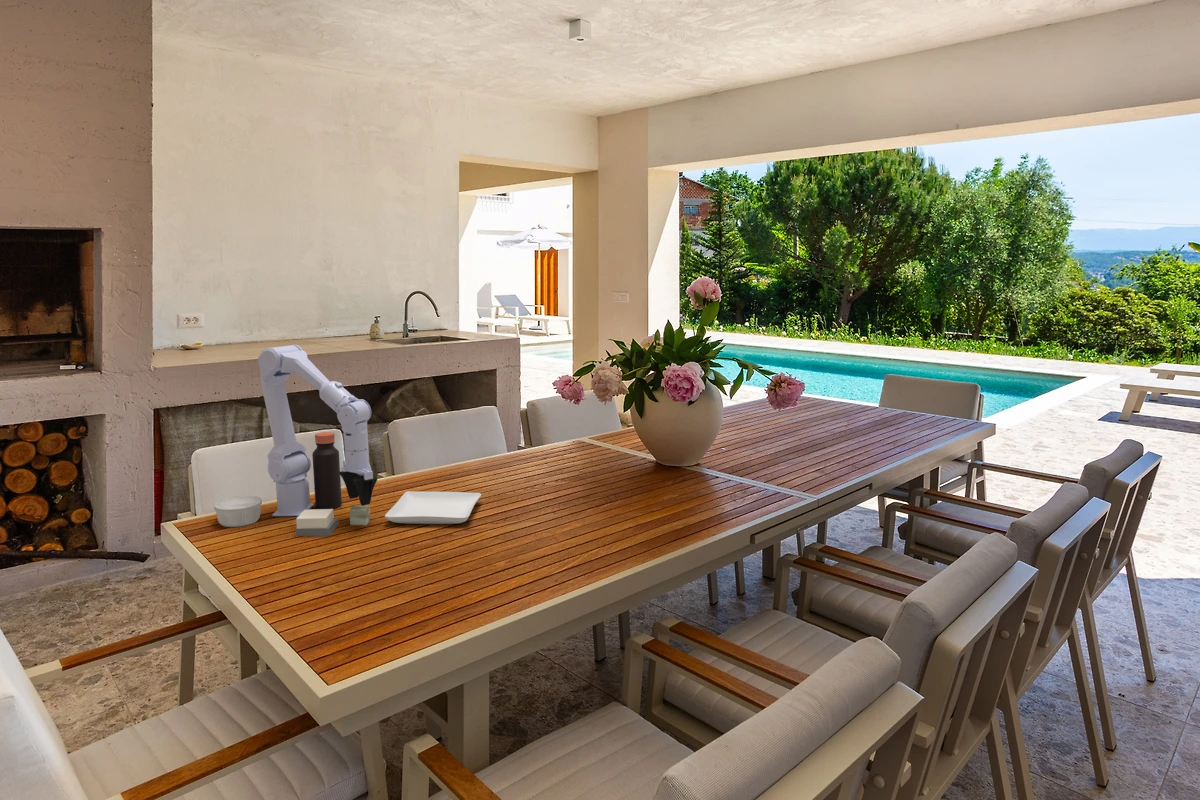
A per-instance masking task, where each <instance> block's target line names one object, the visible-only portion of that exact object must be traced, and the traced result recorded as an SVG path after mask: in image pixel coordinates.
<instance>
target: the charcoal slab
mask: <svg viewBox="0 0 1200 800" xmlns="http://www.w3.org/2000/svg"><path fill="white" fill-rule="evenodd" d="M338 526H339V518H338V517H334V519H333V520H332V522H331V523H330V524H329V526H328V527H327V528H304V529H297V527H295V528H294V531H295V532H294V533H295V534H294V535H295V536H311V537H330V536H331V535H332V534H333V533H334V531H335V530H336V529H337V528H338Z"/></svg>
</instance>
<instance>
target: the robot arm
mask: <svg viewBox="0 0 1200 800" xmlns="http://www.w3.org/2000/svg"><path fill="white" fill-rule="evenodd" d="M257 362H258V366H259V372H260V375H259V379H260V384H261V390H262V396H263V398H264V399H263V400H264V403H265V408H266V413H267V418H268V422H269V427H270V431H271V434H272V435H271V436H272V440H273V441H272V442H273V447H272V448H271V450H270V451H269V453H268V454H267V460H268V464H267V472H268V475H269V477H270V478H271V480H273V482H274V483H275V491H276V503H277V504H276V505H277V510H275V511H274V513H272V514H271V515H272V517H298V516H299V515H300V514H301V513H302V512H303V511H304V510H312V508H313V507H314V506H315V503H311V494H310V483H309V481H308V479H307V476H308V475H307V474H308V472H310V469H311V466H312V464H311V463H312V462H311V459H310V457H309V455H308V454H307V451H306V448H305V445H303V444H301V443H300V442H298V440H297V438H296V431H295V427H294V423H293V418H292V414H291V409H290V405H289V400H288V395H287V391H286V387H285V382H286V381H287V380H288V378H289V377H290V376H291V375H292V374H297V375H299V377H300V378H302V379H304V381H306V382H307V383H309V384H310V385H311V386H312V387H314V388H315V389H316V390H318V391H319V398H320V399H321V400H322V401H323V402H324V403H325V404H326V405H327V406H328V407H329V408H331V410H333V411H334V412H335V413H336V416H337V420H338V422H339V423H340V425H341V431H342V432H343V445H344V460H343V465H342V466H343V467H340V472H339V473H340V478H341V479H342V481H343V482H344V485H345V488H346V491H347V494H348V497H349V499H350V500H351V499H355V498H356V499H357V498H358V499H359V503H360V504H359V505H362V506H364V505H371V500H372V496H373V492H374V491H373V490H374V487H375V486H376V483H377V482H378V477H377V476H374V471H373V470H372V468H371V464H370V455H369V453H370V451H369V450H370V449H369V434H368V421H370V419H371V417H372V408H371V406H370V404H369V402H368V401H366V400H365V399H359V398H358V397H356V396H354V394H351V393H350V392H349V391H348V390H347V389H346V388H344V387H343V383H341V382H340V381H339V382H338V381H336V380H332V381H330V380H329V378H327V376H326V375H324V374H323V373H322V372H321V371H320V369H318V368H317V367H316V366H315V364H314V363H313V362H312V361H311V360H310V359H309V357H308V353H307V352H306V351H305V350H303V348H302V347H301V346H299V345H298V344H295V343H294V344H289V345H284V346H283V345H282V346H274V347H266V348H264V349H263V350H262V351H261V352H260V354H259V356H258V357H257Z"/></svg>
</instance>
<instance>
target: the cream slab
mask: <svg viewBox="0 0 1200 800" xmlns="http://www.w3.org/2000/svg"><path fill="white" fill-rule="evenodd" d="M334 514H335V513H334V508H333V509H318V508H316V509H312V508H311V509H309V510H304V511H303V512H302V513H301V514H300V515H299V516H296V518H295V519H296V528H297V529H304V528H327V527H328V526H329V524H330V523H331V522H332V520H333V519H334V518H335V516H334Z"/></svg>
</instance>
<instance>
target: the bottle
mask: <svg viewBox="0 0 1200 800" xmlns="http://www.w3.org/2000/svg"><path fill="white" fill-rule="evenodd" d="M314 442H315V445H316V448H315V449H314V450H313V451H312V454H311V455H312V468H313V469H312V470H313V485H314V486H313V487H314V500H315V501H314V502H315V503H314V506H315V508H316V509H333V510H334V509H337V508H339V507H341V506H342V503H343V500H342V499H343V497H342V484H341V483H342V482H341V475H340V473H339V472H341V465H340V452H339V450H338V448H336V447H335V446H334V444H335V433H334V432H329V431H326V432H325V431H324V432H318V433H315V434H314Z"/></svg>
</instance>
